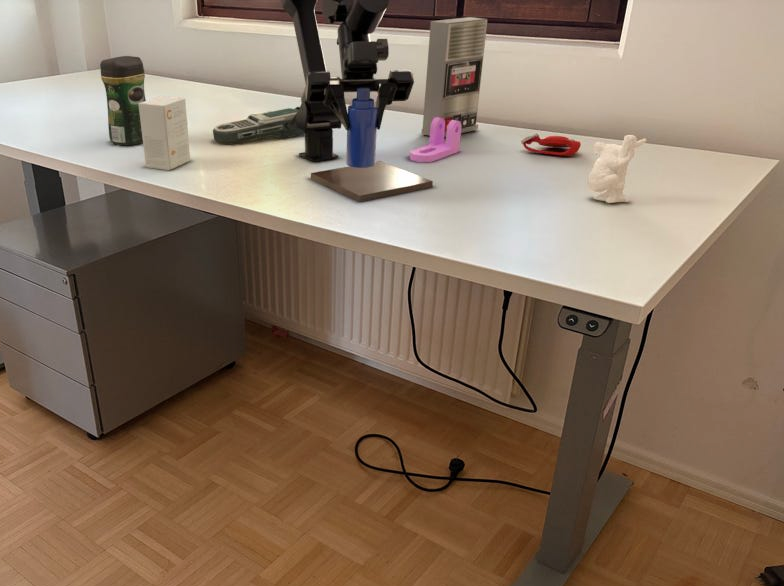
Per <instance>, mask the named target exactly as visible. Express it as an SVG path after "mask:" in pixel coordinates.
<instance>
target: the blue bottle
mask: <svg viewBox="0 0 784 586" xmlns="http://www.w3.org/2000/svg"><path fill="white" fill-rule="evenodd" d="M347 113H348V118H349V130H346V157H345V158H346V162H345V163H346V166H347V167H348V166H351V167H355V168H368V167H372V166H374V165H375V162H376V155H377V154H376V152H377V131H378V130H377V113H378V107H377V106H376V104H375V99H374V98H371V92H370V89H369V88H357V92H356V97H354V98H352V99H351V104H350V105H348V106H347Z"/></svg>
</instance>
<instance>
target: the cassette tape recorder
mask: <svg viewBox="0 0 784 586" xmlns="http://www.w3.org/2000/svg"><path fill="white" fill-rule="evenodd" d="M488 21H489V20H488V18H482V17H473V16H468V17H460V18H459V17H458V18H451V19H450V18H448V19H440V20H430V24H429V25H430V26H429V27H430V28H429V40H428V51H427V64H426V65H427V66H426V76H425V77H426V78H425V93H424V103H423V104H424V106H423V116H422V117H423V118H422V128H421V133H420V134H422V135H424V136H429V137H430V127H431V123H432V121H433V119H434V118H435V117H439V118H443V119H444V120H445V131H444V138H446V133H447V127H448V124H449V122H450V121H451V120H457V121H460V122H461V134H464V133H469V132H472V131H473V132H475V131H477V130H478V129H479V124H477V119H478V110H479V109H478V108H479V102H480V101H479V99H480V90H481V83H482V73H483V72H482V71H483V63H484V55H485V45H486V38H487V28H488Z"/></svg>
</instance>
